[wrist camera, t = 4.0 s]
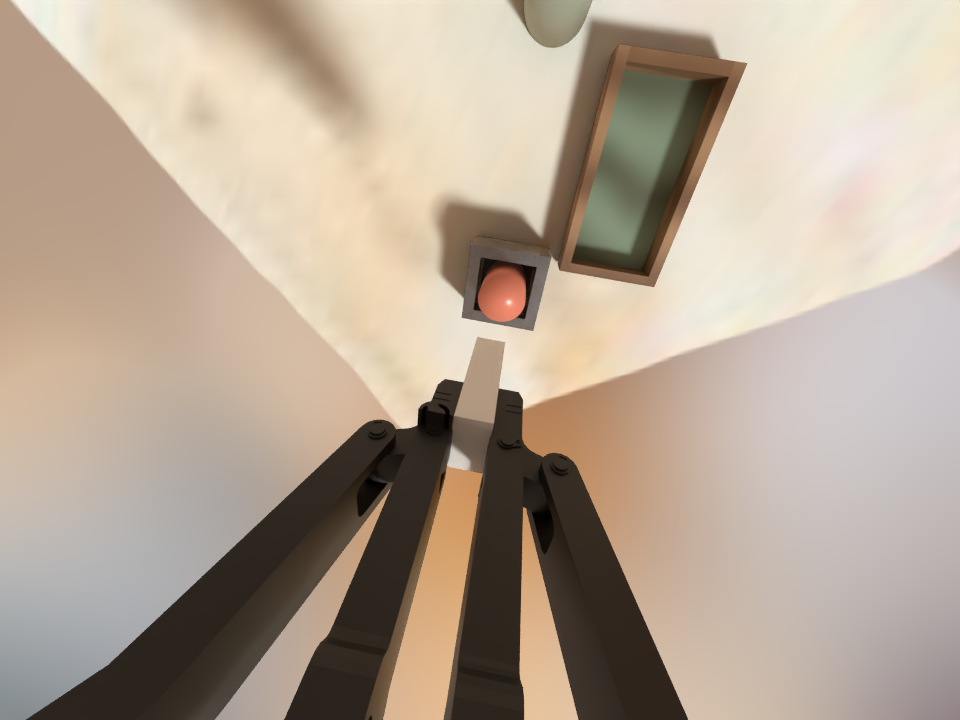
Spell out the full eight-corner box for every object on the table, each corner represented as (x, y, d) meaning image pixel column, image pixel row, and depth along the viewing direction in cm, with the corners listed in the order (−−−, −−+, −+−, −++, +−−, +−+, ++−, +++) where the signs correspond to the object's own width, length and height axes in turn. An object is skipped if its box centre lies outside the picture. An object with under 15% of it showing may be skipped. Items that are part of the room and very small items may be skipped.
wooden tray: (611, 55, 25) (619, 44, 23) (728, 72, 25) (747, 63, 23) (557, 263, 33) (559, 270, 31) (645, 279, 33) (654, 287, 30)
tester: (477, 235, 33) (470, 243, 29) (548, 248, 32) (551, 257, 29) (468, 303, 36) (461, 317, 33) (532, 315, 36) (533, 330, 32)
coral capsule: (489, 255, 33) (481, 272, 27) (529, 263, 32) (530, 280, 27) (483, 295, 35) (474, 317, 29) (521, 302, 34) (520, 325, 29)
